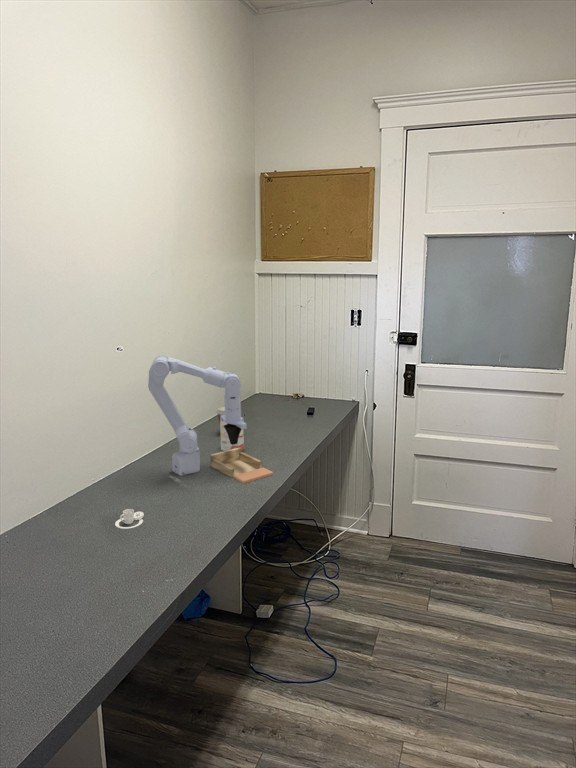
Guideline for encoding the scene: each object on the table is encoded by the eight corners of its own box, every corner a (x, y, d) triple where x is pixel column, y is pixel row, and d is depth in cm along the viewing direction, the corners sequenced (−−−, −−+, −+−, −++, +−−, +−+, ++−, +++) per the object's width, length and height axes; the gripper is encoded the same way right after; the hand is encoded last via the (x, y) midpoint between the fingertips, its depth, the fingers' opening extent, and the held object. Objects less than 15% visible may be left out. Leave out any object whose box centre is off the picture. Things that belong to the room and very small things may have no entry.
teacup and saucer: (142, 515, 172) (141, 502, 171) (148, 525, 165) (147, 512, 164) (112, 521, 168) (111, 508, 167) (118, 532, 161) (117, 519, 160)
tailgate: (233, 479, 195) (243, 485, 191) (233, 475, 195) (243, 481, 190) (263, 471, 203) (273, 476, 198) (263, 467, 203) (273, 472, 198)
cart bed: (231, 481, 196) (231, 465, 195) (210, 470, 207) (210, 454, 206) (261, 472, 204) (261, 457, 203) (240, 462, 215) (239, 447, 214)
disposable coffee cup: (216, 437, 245) (215, 411, 242) (218, 431, 254) (217, 405, 252) (238, 437, 245) (237, 410, 243) (239, 430, 254) (238, 405, 252)
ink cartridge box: (244, 449, 229) (243, 414, 226) (238, 453, 225) (237, 418, 222) (227, 446, 233) (226, 412, 230) (220, 450, 229) (219, 415, 226)
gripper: (253, 409, 198) (254, 446, 201) (231, 402, 209) (232, 436, 212) (236, 413, 194) (237, 450, 197) (214, 405, 205) (216, 440, 208)
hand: (233, 443), depth 204 cm, fingers closed
